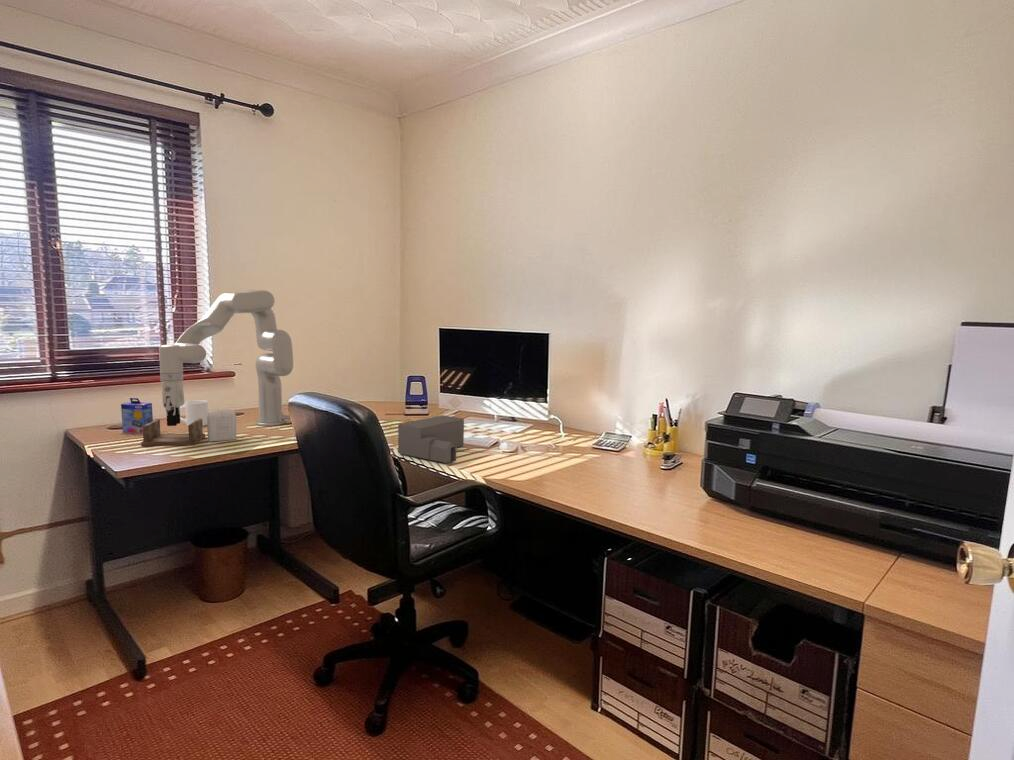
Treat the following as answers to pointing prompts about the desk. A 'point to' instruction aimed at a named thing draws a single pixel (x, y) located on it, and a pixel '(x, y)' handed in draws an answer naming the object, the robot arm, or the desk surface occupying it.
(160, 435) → the walnut rack
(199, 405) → the mug
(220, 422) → the photo printer
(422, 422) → the grey stepped block
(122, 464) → the desk surface
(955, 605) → the desk surface
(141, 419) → the ink cartridge box
